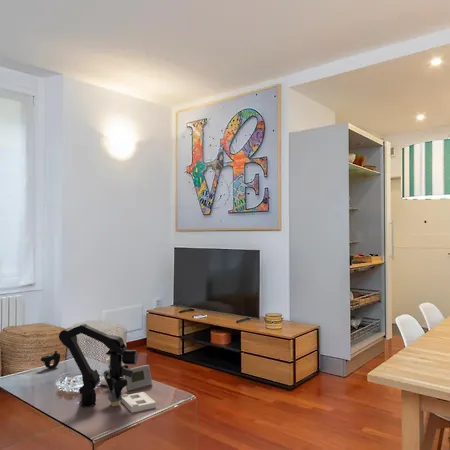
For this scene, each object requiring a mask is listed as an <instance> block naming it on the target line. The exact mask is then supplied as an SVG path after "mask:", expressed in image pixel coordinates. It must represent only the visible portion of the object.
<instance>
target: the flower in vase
mask: <svg viewBox="0 0 450 450" xmlns="http://www.w3.org/2000/svg"><path fill="white" fill-rule="evenodd" d="M107 356H108V357H107V358H106V359H105V360H106V362H107V365H110V355H107ZM107 370H110V368H109V367H108V366H107ZM100 379H101V380H102V381H101V383H100V384H101V385H102V386H108V385H107V383H106V380H105V377H104V375H103V376H102V377H100Z"/></svg>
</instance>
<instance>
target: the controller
mask: <svg viewBox="0 0 450 450" xmlns="http://www.w3.org/2000/svg"><path fill="white" fill-rule="evenodd" d="M53 352H54V353H52V354H49V355H46V356H42V357H41V359H40V361H41V362H43V365H44V366H45V368H47V369H51V370H52V369H55V368H56V367H57V366H58V365H59V363H60V360H61V356H62V355H61V353H59V351H58V350H55V351H53ZM52 361H53V363H52V364H51V362H52Z"/></svg>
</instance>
